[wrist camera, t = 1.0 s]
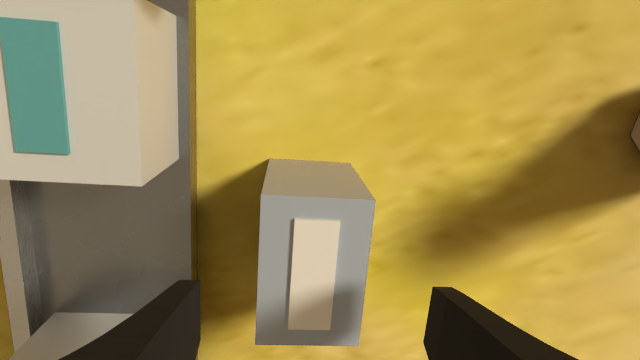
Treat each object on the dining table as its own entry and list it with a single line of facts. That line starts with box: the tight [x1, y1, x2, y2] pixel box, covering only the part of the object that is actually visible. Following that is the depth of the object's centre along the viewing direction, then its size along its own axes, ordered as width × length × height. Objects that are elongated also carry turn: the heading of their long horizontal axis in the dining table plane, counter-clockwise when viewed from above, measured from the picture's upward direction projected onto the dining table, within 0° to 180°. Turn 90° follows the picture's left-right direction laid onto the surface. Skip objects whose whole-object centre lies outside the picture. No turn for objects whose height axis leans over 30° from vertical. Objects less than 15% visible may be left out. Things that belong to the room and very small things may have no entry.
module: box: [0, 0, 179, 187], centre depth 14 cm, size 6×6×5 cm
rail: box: [0, 0, 198, 360], centre depth 18 cm, size 22×8×2 cm, turn 176°
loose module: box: [255, 159, 376, 346], centre depth 17 cm, size 6×4×6 cm, turn 176°
